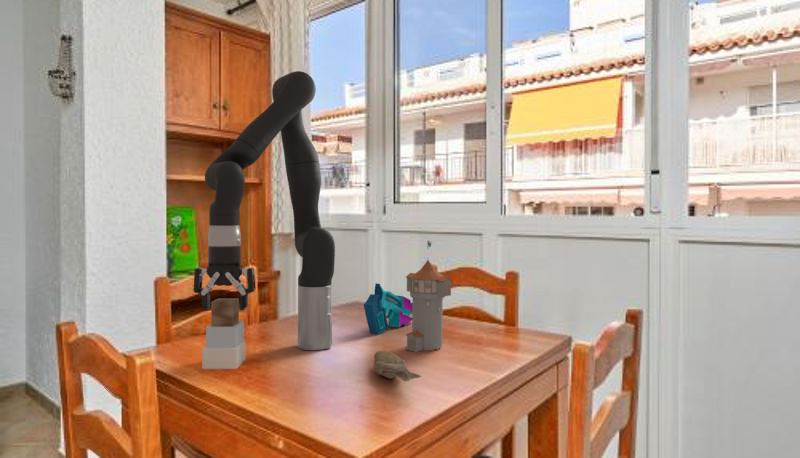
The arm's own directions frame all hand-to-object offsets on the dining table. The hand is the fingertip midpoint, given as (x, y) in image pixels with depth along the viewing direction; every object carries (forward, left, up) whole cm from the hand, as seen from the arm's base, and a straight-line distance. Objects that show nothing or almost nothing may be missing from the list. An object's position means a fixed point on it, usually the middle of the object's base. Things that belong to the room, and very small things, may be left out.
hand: (224, 310), depth 122 cm
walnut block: (0, 0, -4) cm, 4 cm away
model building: (-51, -15, -14) cm, 55 cm away
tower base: (0, 0, -14) cm, 14 cm away
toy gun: (-42, -38, -14) cm, 58 cm away
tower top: (0, 0, -9) cm, 9 cm away
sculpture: (-41, +13, -14) cm, 45 cm away
